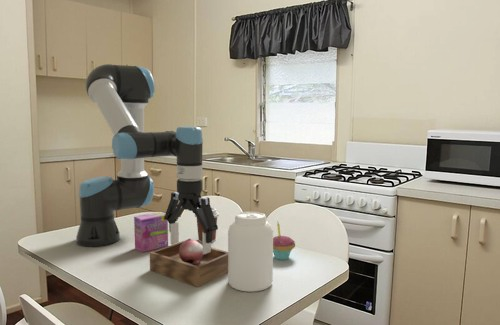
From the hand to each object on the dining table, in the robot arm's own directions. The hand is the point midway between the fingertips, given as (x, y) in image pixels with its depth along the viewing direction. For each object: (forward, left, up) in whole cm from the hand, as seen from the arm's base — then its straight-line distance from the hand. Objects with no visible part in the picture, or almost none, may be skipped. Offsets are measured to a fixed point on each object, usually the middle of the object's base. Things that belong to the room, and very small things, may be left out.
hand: (190, 248), depth 122 cm
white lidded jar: (+20, +3, -7) cm, 22 cm away
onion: (0, 0, -5) cm, 5 cm away
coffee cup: (-16, +24, -7) cm, 30 cm away
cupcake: (+16, +26, -7) cm, 32 cm away
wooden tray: (0, 0, -7) cm, 7 cm away
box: (-26, +6, -7) cm, 27 cm away
